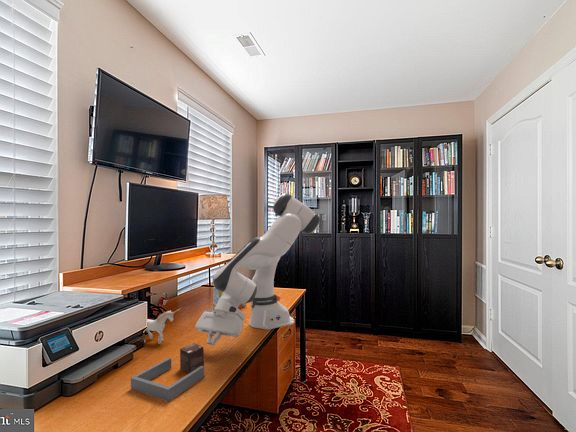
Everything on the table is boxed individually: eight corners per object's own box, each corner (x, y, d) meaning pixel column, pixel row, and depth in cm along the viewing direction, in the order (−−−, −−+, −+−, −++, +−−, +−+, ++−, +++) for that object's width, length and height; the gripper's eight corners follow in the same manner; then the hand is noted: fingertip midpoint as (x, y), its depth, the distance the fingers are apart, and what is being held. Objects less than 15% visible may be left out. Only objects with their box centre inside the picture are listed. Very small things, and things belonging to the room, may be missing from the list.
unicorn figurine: (177, 344, 132) (176, 312, 132) (130, 346, 130) (129, 314, 130) (182, 337, 139) (181, 307, 139) (137, 339, 138) (137, 309, 138)
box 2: (194, 362, 114) (194, 342, 114) (204, 367, 110) (204, 346, 110) (179, 369, 110) (179, 348, 110) (189, 374, 106) (189, 353, 106)
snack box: (219, 315, 169) (219, 288, 169) (212, 313, 172) (212, 286, 172) (247, 306, 186) (246, 281, 186) (240, 304, 189) (240, 280, 189)
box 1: (168, 367, 111) (168, 357, 111) (204, 376, 104) (204, 366, 104) (130, 389, 97) (130, 377, 97) (168, 401, 90) (168, 389, 90)
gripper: (201, 305, 129) (185, 337, 120) (242, 309, 120) (227, 344, 111) (209, 312, 133) (194, 344, 124) (249, 317, 124) (235, 351, 115)
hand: (210, 344), depth 118 cm, fingers closed
